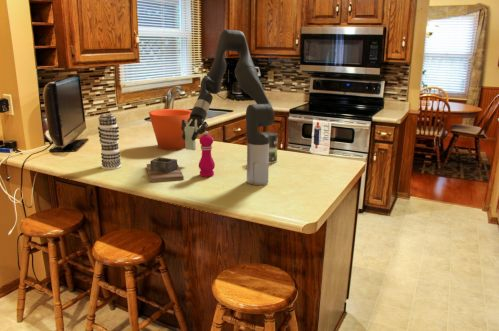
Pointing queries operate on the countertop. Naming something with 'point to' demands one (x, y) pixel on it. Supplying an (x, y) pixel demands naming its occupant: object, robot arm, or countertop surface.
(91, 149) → the countertop surface
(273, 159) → the coffee can
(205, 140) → the pepper mill
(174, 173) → the brown piece
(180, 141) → the flowerpot
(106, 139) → the decorative candle
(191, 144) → the slat
